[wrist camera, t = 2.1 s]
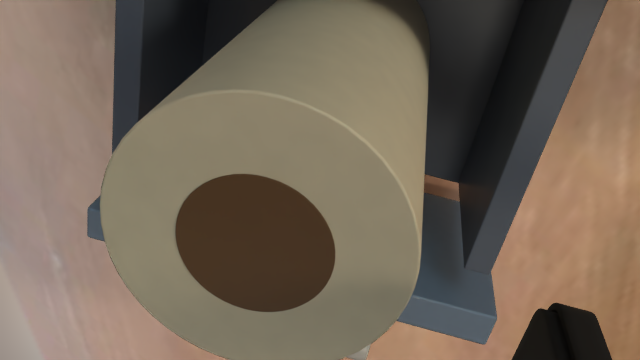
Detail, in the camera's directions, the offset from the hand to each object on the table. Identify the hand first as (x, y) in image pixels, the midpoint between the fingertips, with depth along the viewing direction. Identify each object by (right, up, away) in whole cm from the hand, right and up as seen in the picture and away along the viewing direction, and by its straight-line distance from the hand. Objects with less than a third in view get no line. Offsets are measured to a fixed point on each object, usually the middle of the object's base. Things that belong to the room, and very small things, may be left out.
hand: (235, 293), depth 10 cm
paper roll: (+2, +7, +11) cm, 13 cm away
